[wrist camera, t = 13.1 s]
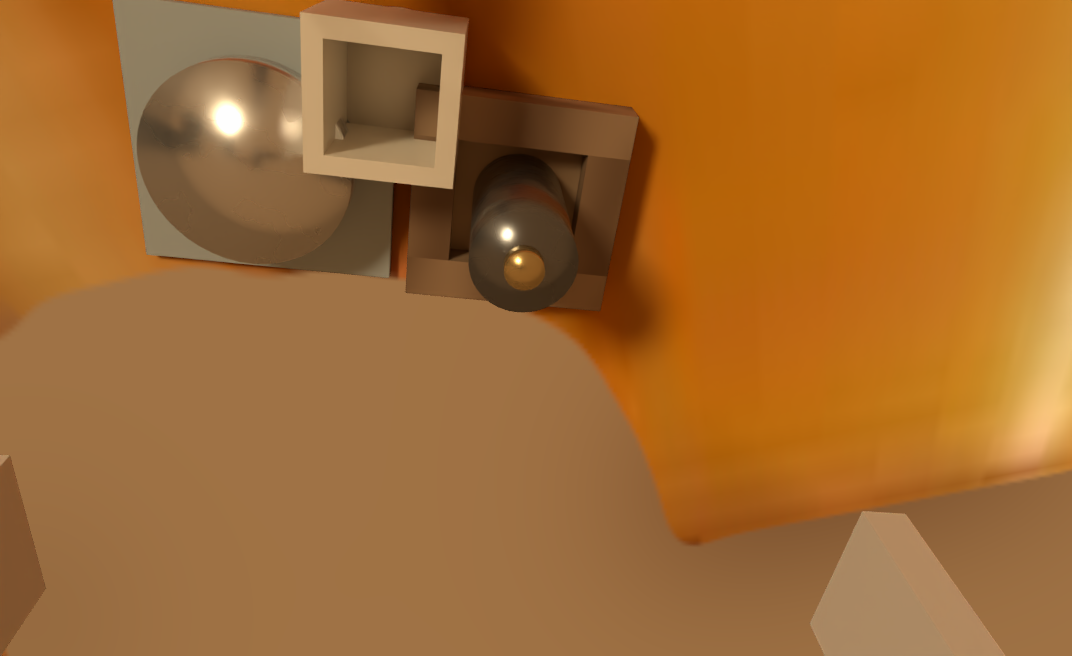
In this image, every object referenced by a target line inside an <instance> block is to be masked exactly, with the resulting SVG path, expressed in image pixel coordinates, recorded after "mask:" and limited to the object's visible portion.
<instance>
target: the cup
mask: <svg viewBox="0 0 1072 656" xmlns="http://www.w3.org/2000/svg"><path fill="white" fill-rule="evenodd" d="M468 26H469V18H466V17H458V16H451V15H444V14H437V13H430V12H422V11H415V10H412V9H409V8H404V7H395V6H390V7H386V6H379V5H372V4H365V3H358V2H351V1H343V0H325V1H323V2H320V3H318V4H316V5H314V6H312V7H310V8H308V9H305V10H303V11H301V12H300V36H301V86H302V135H303V172H304V173H313V174H322V175H331V176H339V177H348V178H357V179H366V180H375V181H384V182H393V183H402V184H411V185H420V186H429V187H438V188H446V189H453V183H454V176H455V169H456V162H457V156H458V146H459V140H458V139H459V127H460V115H461V103H462V93H463V87H464V74H465V62H466V50H467V38H468ZM419 83H425V84H433V85H440V94H439V108H438V123H437V137H436V141H427V140H419V139H414V125H415V106H416V89H417V87H418V84H419ZM341 117H342V118H343V120H344V122H345V124H346V126H347V128H348V130H349V132H348V133H347V134H346V136H345V137H344V139H343V140H341V139H335V125H336V123H337V122H338V121H339V120H340V118H341ZM347 120H348V121H349V122H350V123H347Z"/></svg>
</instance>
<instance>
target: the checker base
mask: <svg viewBox="0 0 1072 656" xmlns="http://www.w3.org/2000/svg"><path fill="white" fill-rule="evenodd" d="M113 7H114V14H115V22H116V29H117V37H118V44H119V52H120V59H121V67H122V74H123V82H124V89H125V96H126V104H127V111H128V119H129V126H130V134H131V141H132V149H133V156H134V164H135V171H136V178H137V186H138V193H139V201H140V208H141V216H142V223H143V231H144V238H145V246H146V253H147V255H157V256H168V257H178V258H188V259H198V260H209V261H219V262H229V263H239V264H250V263H244V262H238V261H234V260H231V259H227V258H224V257H221V256H219V255H216V254H214V253H211V252H209V251H207V250H205V249H204V248H202V247H200V246H198V245H197V244H195V243H194V242H192V241H191V240H189V239H188V238H186V237H185V236H184V235H183V234H182V233H180V232H179V231H178V230H177V229H176V228H175V227H174V226H173V225H172V224H171V223H170V222H169V221H168V220H167V219H166V218H165V217H164V215H163V214H162V213H161V212H160V210H159V209H158V208H157V206H156V204H155V203H154V201H153V200H152V198H151V196H150V194H149V192H148V190H147V188H146V186H145V184H144V181H143V178H142V175H141V172H140V168H139V163H138V158H137V132H138V127H139V123H140V118H141V116H142V113H143V111H144V108H145V106H146V104H147V103H148V101H149V99H150V98H151V96H152V95H153V93H154V92H155V91H156V90H157V89H158V88H159V87H160V86H161V84H163V83H164V82H165V81H166V80H168V79H169V78H170V77H171V76H173V75H175V74H176V73H178V72H180V71H182V70H183V69H186V68H188V67H190V66H192V65H194V64H196V63H199V62H201V61H204V60H206V59H209V58H214V57H218V56H224V55H250V56H255V57H261V58H265V59H268V60H271V61H275V62H278V63H280V64H282V65H284V66H287V67H289V68H291V69H293V70H294V71H296V72H298V73H299V74H301V36H300V17H292V16H285V15H278V14H270V13H263V12H255V11H248V10H241V9H233V8H226V7H218V6H211V5H204V4H196V3H189V2H182V1H174V0H113ZM347 123H350V122H349V121H348V120H347ZM393 196H394V183H393V182H384V181H375V180H366V179H357V178H356V185H355V189H354V194H353V197H352V199H351V202H350V204H349V207H348V209H347V211H346V213H345V215H344V217H343V218H342V220H341V222H340V224H339V225H338V227H337V228H336V230H335V231H334V232H333V233H332V235H331V236H330V237H329V238H328V239H327V240H326V241H325V242H324V243H323V244H322V245H320V246H319V247H317V248H316V249H314V250H313V251H311V252H309V253H307V254H306V255H304V256H302V257H299V258H296V259H293V260H290V261H286V262H281V263H274V264H250V265H260V266H270V267H280V268H291V269H301V270H311V271H321V272H332V273H342V274H352V275H362V276H373V277H383V278H389V277H390V267H391V244H392V220H393Z"/></svg>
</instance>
